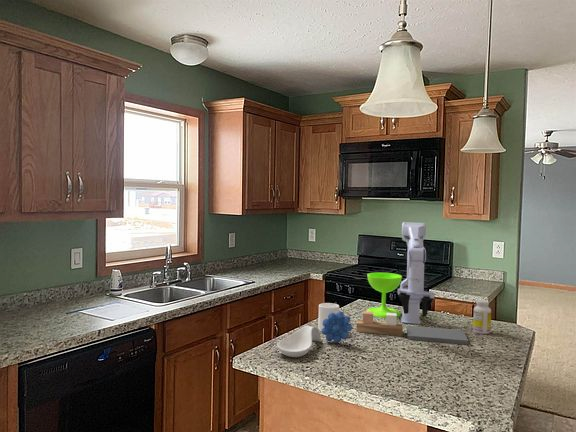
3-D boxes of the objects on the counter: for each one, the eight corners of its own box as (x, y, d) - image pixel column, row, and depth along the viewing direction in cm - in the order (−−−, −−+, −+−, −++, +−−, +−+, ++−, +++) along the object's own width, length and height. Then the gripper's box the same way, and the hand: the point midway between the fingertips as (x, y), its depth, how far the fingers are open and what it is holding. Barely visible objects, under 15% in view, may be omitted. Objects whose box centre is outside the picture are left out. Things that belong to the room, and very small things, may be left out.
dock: (406, 329, 189) (406, 325, 189) (462, 333, 184) (462, 330, 184) (407, 339, 176) (407, 335, 175) (468, 344, 171) (468, 340, 171)
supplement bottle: (487, 330, 190) (488, 299, 190) (492, 334, 184) (494, 303, 183) (470, 329, 191) (471, 298, 190) (475, 334, 184) (476, 302, 184)
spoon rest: (302, 363, 149) (302, 342, 148) (270, 357, 154) (271, 336, 154) (329, 343, 170) (329, 324, 170) (300, 338, 175) (300, 320, 175)
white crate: (386, 322, 186) (386, 312, 186) (396, 323, 185) (396, 313, 185) (386, 325, 182) (386, 315, 182) (396, 325, 181) (396, 315, 181)
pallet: (357, 329, 189) (357, 319, 189) (401, 333, 185) (402, 323, 185) (356, 332, 184) (356, 322, 184) (402, 336, 180) (402, 326, 180)
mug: (323, 324, 194) (324, 300, 194) (342, 326, 192) (343, 302, 191) (315, 331, 183) (316, 306, 183) (335, 334, 180) (336, 308, 180)
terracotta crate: (363, 320, 188) (363, 310, 188) (373, 321, 187) (373, 311, 187) (362, 323, 184) (363, 313, 184) (372, 323, 183) (373, 314, 183)
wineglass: (394, 319, 204) (395, 279, 203) (360, 314, 212) (361, 275, 211) (405, 312, 217) (406, 274, 217) (373, 307, 226) (374, 271, 225)
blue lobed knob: (354, 341, 172) (355, 310, 171) (350, 347, 165) (351, 314, 165) (324, 337, 176) (325, 306, 175) (319, 342, 169) (320, 310, 169)
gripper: (393, 278, 177) (392, 313, 176) (429, 281, 167) (428, 319, 166) (403, 277, 182) (402, 311, 181) (437, 280, 172) (436, 316, 171)
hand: (415, 314), depth 174 cm, fingers open, 7 cm apart
